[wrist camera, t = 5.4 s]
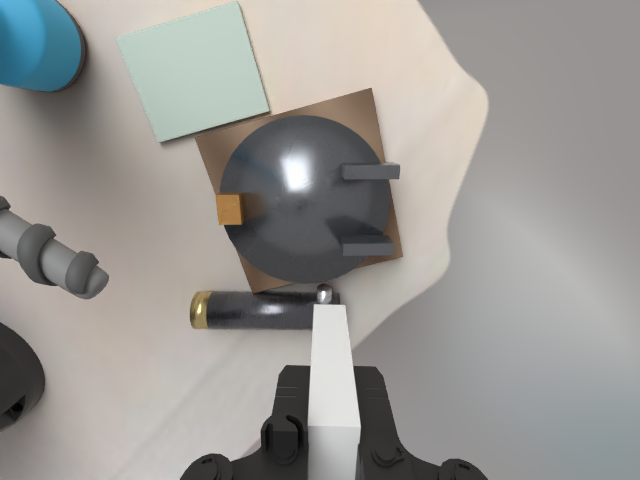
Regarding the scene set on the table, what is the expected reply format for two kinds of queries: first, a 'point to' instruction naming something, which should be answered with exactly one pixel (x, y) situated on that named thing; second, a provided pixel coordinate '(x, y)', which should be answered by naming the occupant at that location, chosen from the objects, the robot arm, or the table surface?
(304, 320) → the black cylinder
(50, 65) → the power drill
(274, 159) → the chuck collar
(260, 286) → the plinth
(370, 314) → the table surface
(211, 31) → the mat
